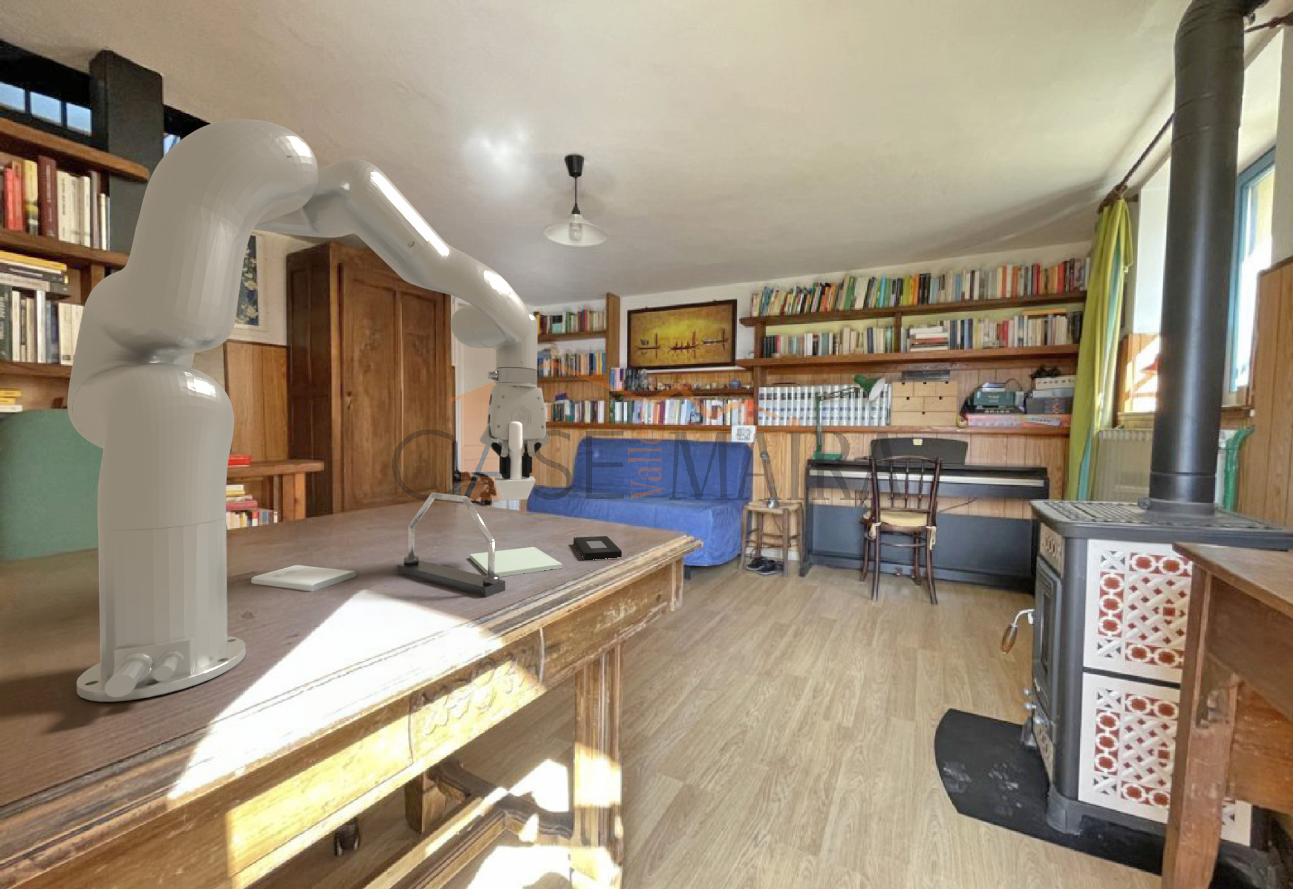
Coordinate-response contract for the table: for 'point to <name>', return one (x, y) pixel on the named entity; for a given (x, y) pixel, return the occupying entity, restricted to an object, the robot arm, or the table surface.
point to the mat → (516, 561)
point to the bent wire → (446, 574)
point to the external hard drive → (303, 577)
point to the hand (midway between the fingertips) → (515, 476)
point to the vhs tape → (596, 547)
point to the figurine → (515, 469)
